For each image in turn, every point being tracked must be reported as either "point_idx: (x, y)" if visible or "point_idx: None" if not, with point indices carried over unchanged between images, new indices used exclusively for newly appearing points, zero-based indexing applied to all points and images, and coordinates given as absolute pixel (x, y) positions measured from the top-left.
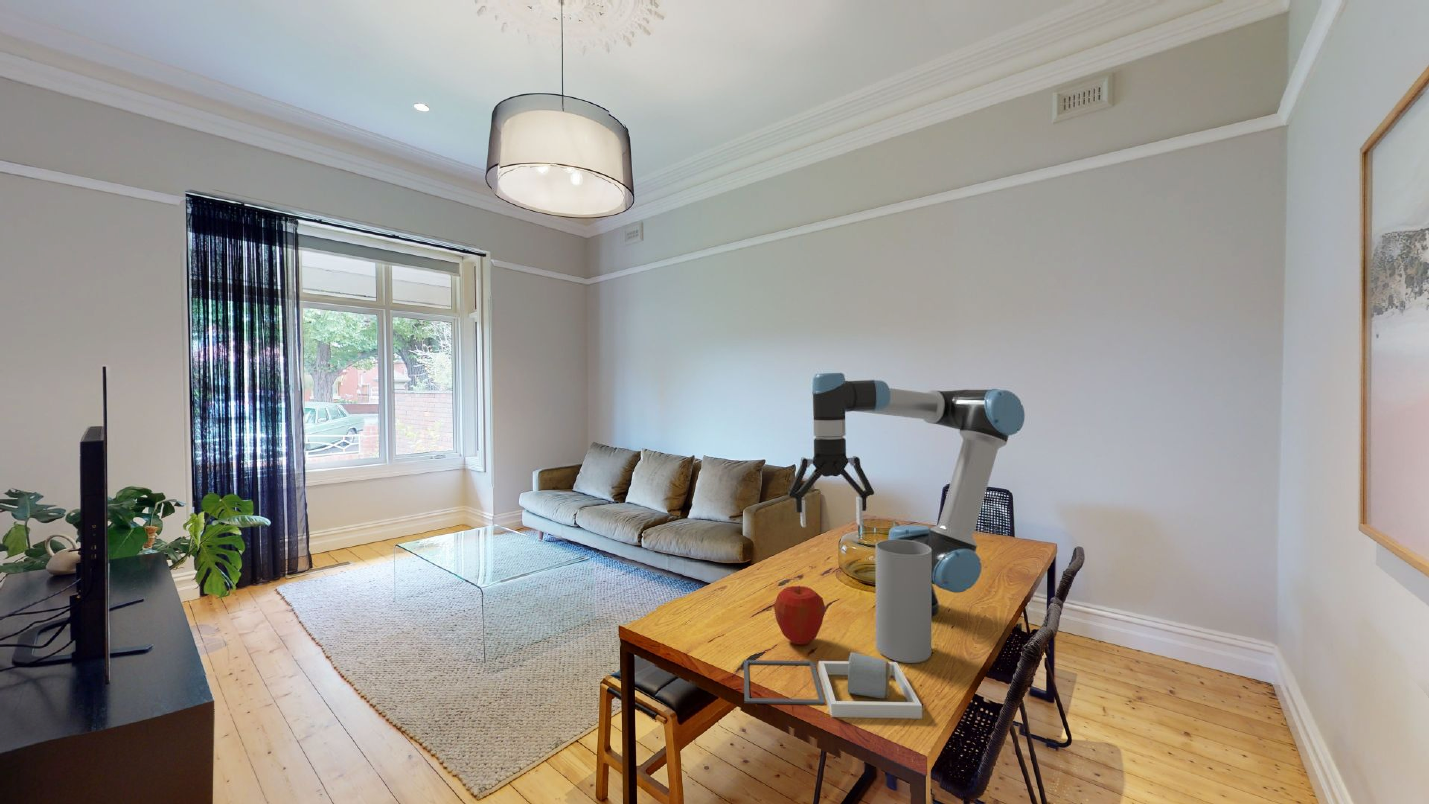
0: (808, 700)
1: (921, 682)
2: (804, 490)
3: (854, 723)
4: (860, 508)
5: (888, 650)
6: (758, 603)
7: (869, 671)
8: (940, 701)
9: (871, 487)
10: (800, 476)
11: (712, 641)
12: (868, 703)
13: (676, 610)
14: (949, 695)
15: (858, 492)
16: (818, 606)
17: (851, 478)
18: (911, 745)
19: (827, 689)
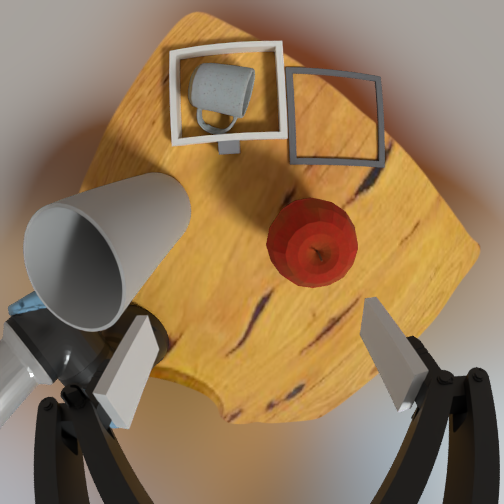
0: (306, 70)
1: (151, 129)
2: (437, 415)
3: (254, 38)
4: (117, 360)
5: (176, 183)
6: (342, 336)
7: (222, 65)
8: (142, 92)
9: (36, 423)
10: (488, 470)
11: (414, 223)
12: (234, 44)
13: (438, 302)
14: (128, 107)
15: (97, 422)
16: (284, 219)
17: (108, 501)
18: (200, 15)
19: (283, 67)
